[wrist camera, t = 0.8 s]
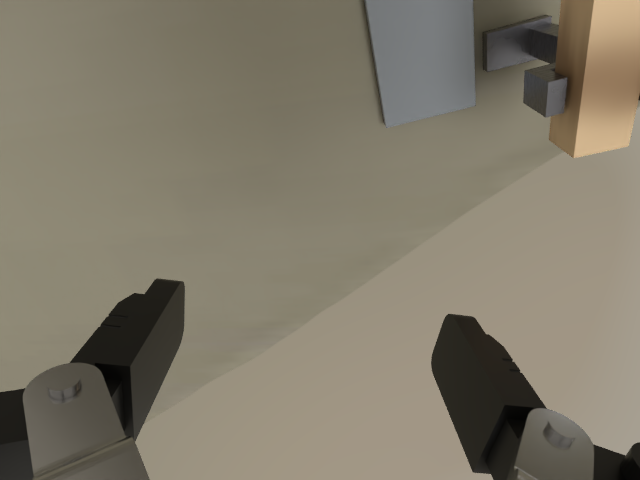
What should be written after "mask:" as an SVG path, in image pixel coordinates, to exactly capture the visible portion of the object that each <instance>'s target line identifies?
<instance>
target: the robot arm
mask: <svg viewBox="0 0 640 480" xmlns="http://www.w3.org/2000/svg"><path fill="white" fill-rule="evenodd" d="M184 300H185V286H184V282H182V281H174V280H166V279H156V280H155V281H154V282H153V283H152V285H151V286H150V287H149V289H148V290H147V292H146V293H145V294H137V293H134V294H132V295H130V296H129V297H127V298H125V299H124V300H122V301H120V302H119V303H118V304H117V305H116V306H115V308H114V309H113V310H112V311H111V312H110V314H109V317H106V319H105V320H104V321H103V322H102V324H101V326H100V327H98V328H97V330H96V331H95V332H94V333H93V335H92V336H91V337H90V338H89V340H88V341H87V342H86V343H85V344H84V346H83V347H82V348H81V349H80V351H79V352H78V353H77V354H76V356H75V357H74V358H73V359H72V360H71V362H70V363H68V364H63V365H59V366H56V367H53V368H51V369H49V370H46V371H45V372H43V373H41V374H39V375H38V376H37V377H35V378H34V379H33V380H32V381H31V382H30V383H29V384H28V385H27V387H26V388H25V389H19V390H13V391H6V392H0V480H150V479H149V477H148V474H147V472H146V469H145V466H144V464H143V461H142V459H141V456H140V454H139V451H138V448H137V446H136V444H135V441H136V439H137V436H138V434H139V432H140V430H141V428H142V426H143V424H144V421H145V419H146V417H147V415H148V413H149V411H150V409H151V406H152V404H153V402H154V400H155V398H156V396H157V394H158V391H159V389H160V387H161V385H162V383H163V381H164V378H165V376H166V374H167V372H168V370H169V368H170V366H171V363H172V361H173V359H174V357H175V355H176V353H177V351H178V348H179V346H180V343H181V340H182V336H183V331H184ZM431 365H432V372H433V375H434V378H435V380H436V382H437V385H438V387H439V390H440V392H441V395H442V397H443V400H444V402H445V405H446V407H447V410H448V412H449V415H450V417H451V419H452V422H453V424H454V427H455V429H456V432H457V434H458V437H459V439H460V442H461V444H462V447H463V449H464V451H465V454H466V457H467V459H468V461H469V464H470V466H471V469H472V471H473V472H475V473H486V474H491V475H492V477H493V479H494V480H640V443H636V444H634V445H633V446H632V448H631V449H630V450H629V452H628V453H627V455H626V456H625V455H622V454H619V453H616V452H613V451H610V450H608V449H605V448H602V447H599V446H596V445H593V443H592V442H591V440H590V438H589V436H588V435H587V434H586V433H585V431H584V430H583V429H582V428H580V426H578V425H577V424H576V423H575V422H573V421H572V420H570V419H569V418H567V417H566V416H564V415H562V414H560V413H557V412H555V411H553V410H549V409H547V408H546V407H545V405H544V404H543V402H542V401H541V400H540V398H539V397H538V395H537V394H536V393H535V391H534V390H533V388H532V387H531V385H530V384H529V382H528V381H527V380H526V378H525V377H524V375H523V374H522V373H520V370H519V368H518V367H517V365H516V364H515V363H514V362H512V358H511V357H510V355H509V354H508V352H507V351H506V350H505V348H504V347H503V346H502V345H501V344H500V343H499V342H497V341H496V340H495V339H494V338H493V337H491V336H490V335H487V334H485V332H484V331H483V329H482V328H481V326H480V325H479V323H478V322H477V320H476V319H475V318H474V317H471V316H463V315H455V314H448V315H447V316H446V317H445V319H444V321H443V324H442V327H441V330H440V333H439V336H438V339H437V342H436V345H435V347H434V350H433V354H432V361H431Z"/></svg>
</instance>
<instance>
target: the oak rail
mask: <svg viewBox="0 0 640 480" xmlns="http://www.w3.org/2000/svg"><path fill="white" fill-rule="evenodd" d="M555 72H556V73H559V74H561V75H563V76H565V77H568V79H567V88H566V98H565V107H564V113H562V114H558V115H554V116H551V122H550V133H549V140H550V141H551V142H553V143H554V144H555V145H557V146H558V147H559V148H561V149H562V150H563V151H565V152H566V153H567V154H569V155H570V156H571V157H573V158H577V157H582V156H586V155H590V154H595V153H600V152H604V151H609V150H613V149H618V148H622V147H627V146H629V142H630V137H631V132H632V127H633V123H634V118H635V114H636V109H637V104H638V99H639V95H640V0H561V8H560V19H559V30H558V42H557V53H556V65H555Z"/></svg>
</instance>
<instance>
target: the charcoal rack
mask: <svg viewBox="0 0 640 480" xmlns="http://www.w3.org/2000/svg"><path fill="white" fill-rule="evenodd" d="M551 18H552V16H548V15H544V16H540V17H537V18H533V19H529V20H526V21H522V22H518V23H515V24H511V25H507V26H504V27H500V28H496V29H493V30H489V31H485V32H483V70H485V71H487V72H489V71H493V70H497V69H501V68H504V67H508V66H512V65H516V64H520V63H524V62H528V61H532V60H535V59H540V60H542V61H545V62H547V63H550V64H549V65H545V66H541V67H537V68H533V69H529V70H525V77H524V99H523V103H524V104H526V105H528V106H529V107H531V108H532V109H534V110H535V111H537V112H538V113H540V114H541V115H543V116H544V117H549V116H554V115H558V114H562V113H564V107H565V98H566V88H567V79H568V77H565V76H563V75H561V74H559V73H556V72H555V65H556V53H557V42H558V30H559V25H556V24H552V23H551ZM638 100H640V95H639V99H638Z"/></svg>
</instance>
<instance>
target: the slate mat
mask: <svg viewBox="0 0 640 480" xmlns="http://www.w3.org/2000/svg"><path fill="white" fill-rule="evenodd" d="M364 2H365V8H366V14H367V21H368V27H369V33H370V39H371V45H372V51H373V58H374V64H375V70H376V76H377V82H378V88H379V95H380V101H381V107H382V113H383V119H384V124H385V126H386V128H388V127H392V126H396V125H400V124H404V123H408V122H412V121H416V120H420V119H424V118H428V117H432V116H437V115H441V114H445V113H449V112H453V111H457V110H461V109H465V108H469V107H473V106H476V101H475V60H474V19H473V0H364Z"/></svg>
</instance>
